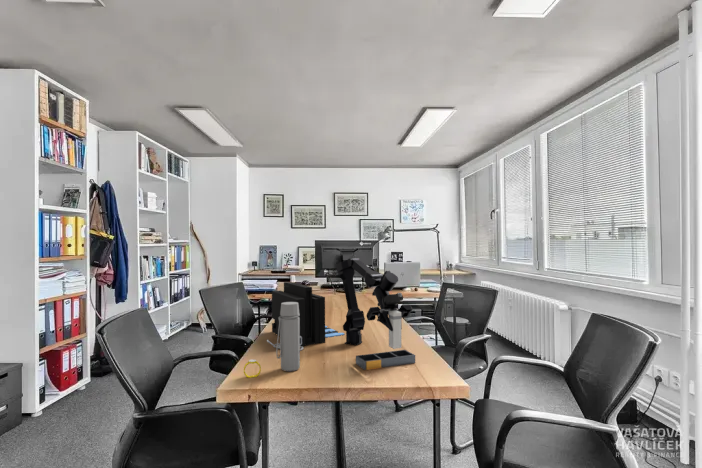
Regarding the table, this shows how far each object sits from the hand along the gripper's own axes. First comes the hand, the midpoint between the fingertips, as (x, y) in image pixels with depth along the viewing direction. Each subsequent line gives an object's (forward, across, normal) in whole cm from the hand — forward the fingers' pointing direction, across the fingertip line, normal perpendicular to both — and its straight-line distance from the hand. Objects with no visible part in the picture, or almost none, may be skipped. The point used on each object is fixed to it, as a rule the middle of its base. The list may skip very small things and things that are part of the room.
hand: (396, 330), depth 152 cm
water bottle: (+2, -41, +17) cm, 44 cm away
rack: (+9, -4, +10) cm, 14 cm away
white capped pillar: (+4, 0, +6) cm, 7 cm away
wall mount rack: (-17, -36, +36) cm, 54 cm away
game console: (-32, -18, +52) cm, 63 cm away
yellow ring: (+4, -54, +16) cm, 57 cm away
